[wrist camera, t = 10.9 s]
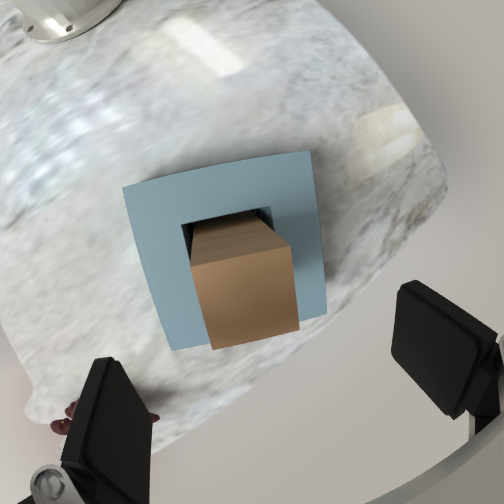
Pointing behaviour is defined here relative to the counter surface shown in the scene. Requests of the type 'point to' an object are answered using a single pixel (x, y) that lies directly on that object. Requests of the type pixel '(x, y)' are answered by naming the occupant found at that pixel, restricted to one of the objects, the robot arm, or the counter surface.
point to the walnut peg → (243, 279)
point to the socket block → (217, 204)
